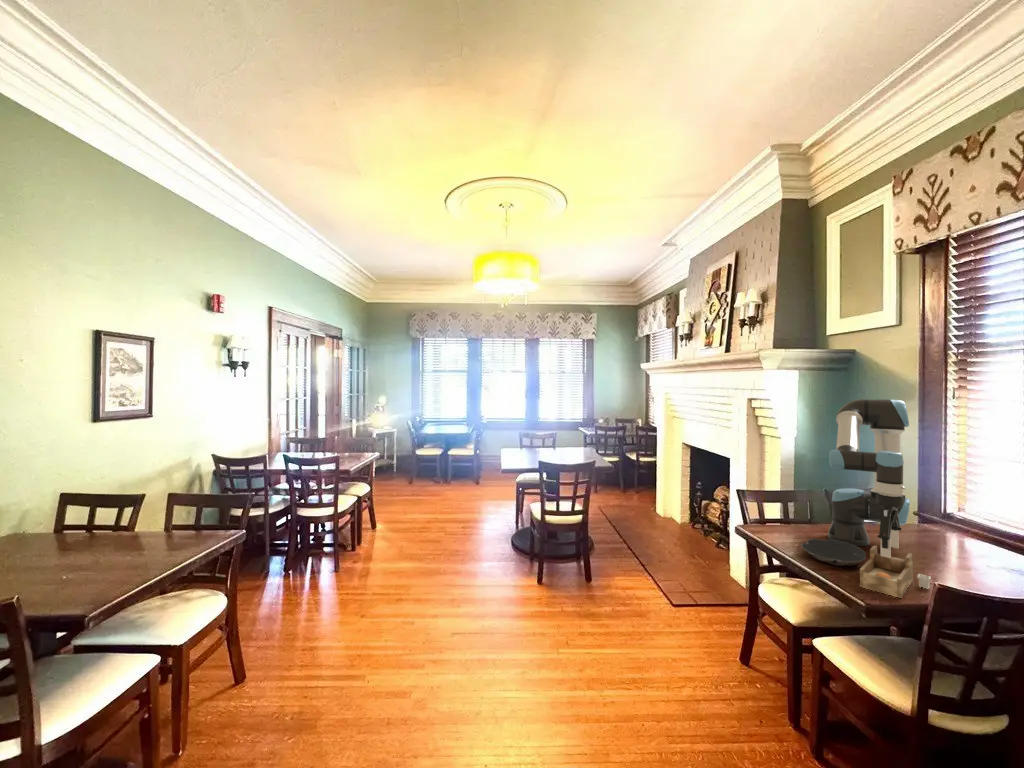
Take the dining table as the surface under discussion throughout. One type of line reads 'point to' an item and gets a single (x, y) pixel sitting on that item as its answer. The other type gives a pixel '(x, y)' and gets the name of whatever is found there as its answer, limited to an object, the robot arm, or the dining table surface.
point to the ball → (883, 575)
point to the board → (834, 552)
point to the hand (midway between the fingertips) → (889, 552)
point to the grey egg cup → (924, 581)
